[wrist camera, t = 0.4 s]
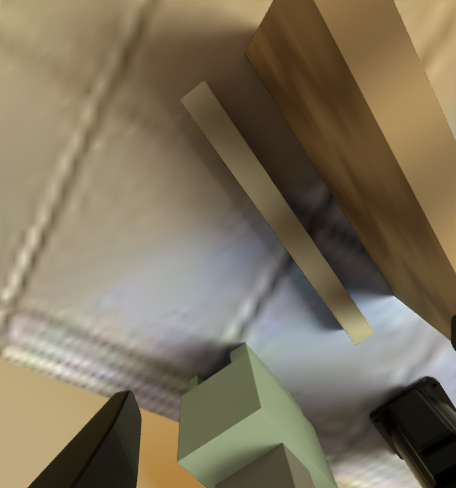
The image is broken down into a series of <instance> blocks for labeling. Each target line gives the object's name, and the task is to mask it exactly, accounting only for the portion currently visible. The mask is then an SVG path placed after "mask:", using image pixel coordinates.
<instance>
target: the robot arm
mask: <svg viewBox="0 0 456 488" xmlns="http://www.w3.org/2000/svg"><path fill="white" fill-rule="evenodd" d="M451 344H452V346H453V348H454V350H455V351H456V315H453V316H452V318H451ZM370 420H371V421H372V423H373V424H374V425H375V427H376V428H377V429H378V431H379V432H380V433H381V434H382V436H383V437H384V438H385V440H386V441H387V442H388V444H389V445H390V446H391V447H392V449H393V450H394V451H395V453H396V454H397V455H398V456H399V458H400V459H402V460H405V462H406V464H407V465H408V467H409V468H410V470H411V471H412V473H413V474H414V476H415V477H416V479H417V481H418V482H419V484H420V485H421V487H422V488H456V408H455V407H454V405H453V404H452V402H451V400H450V399H449V397H448V396H447V394H446V393H445V391H444V389H443V388H442V386H441V385H440V383H439V382H438V381H437V380H436V379H435V378H433V377H432V378H429V379H427V380H425V381H424V382H422V383H420V384H419V385H417V386H415V387H414V388H412V389H411V390H409V391H407V392H406V393H404V394H402V395H401V396H399V397H398V398H396V399H394V400H393V401H391V402H389V403H388V404H386V405H384V406H383V407H381V408H380V409H378V410H376V411H375V412H373V413H372V414H371V415H370ZM140 436H141V413H140V410H139V407H138V405H137V402H136V399H135V397H134V394H133V392H132V391H131V390H125V391H120V392H117V393H115V394H114V395H113V396H112V397H111V398H110V399H109V400H108V402H107V403H106V404H105V405H104V406H103V407H102V408H101V409H100V410H99V411H98V412H97V413H96V414H95V415H94V417H93V418H92V419H91V420H90V421H89V422H88V423H87V424H86V425H85V426H84V428H82V429H81V431H80V432H79V433H78V434H77V435H76V436H75V437H74V438H73V439H72V440H71V441H70V442H69V443H68V445H67V446H66V447H65V448H64V449H63V450H62V451H61V452H60V453H59V454H58V455H57V457H56V458H55V459H54V460H53V461H52V462H51V463H50V464H49V465H48V466H47V467H46V468H45V469H44V470H43V471H42V473H41V474H40V475H39V476H38V477H37V478H36V479H35V480H34V481H33V482H32V483H31V484H30V486H29V487H28V488H136V485H137V476H138V463H139V448H140Z"/></svg>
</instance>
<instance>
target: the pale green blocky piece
mask: <svg viewBox="0 0 456 488" xmlns="http://www.w3.org/2000/svg"><path fill="white" fill-rule="evenodd" d="M230 358H231V364H229V365H228V366H226V367H225V368H223V369H222V370H220V371H219V372H217V373H216V374H214V375H213V376H211V377H210V378H208V379H207V380H205V381H203V380H202V379H201V378H200V377H199V376H198V375H197V376H195V377H194V378H192V379H191V380H189V392H188V393H186V394H185V395H183V396H182V397H181V407H180V422H179V439H178V454H177V463H178V464H180V465H181V466H182V467H183V468H184V469H185V470H187V471H188V472H189V473H190V474H191V475H192V476H193V477H195V478H196V479H197V480H198V481H199V482H200V483H202V484H203V485H204V486H205V487H206V488H338V487H337V484H336V482H335V479H334V477H333V475H332V472H331V470H330V467H329V465H328V462H327V460H326V457H325V455H324V452H323V450H322V447H321V445H320V442H319V440H318V437H317V435H316V432H315V430H314V427H313V425H312V424H311V423H310V422H309V421H308V420H307V419H306V417H305V416H304V415H303V412H302V409H301V407H300V405H299V404H298V402H297V401H296V400H295V399H294V398H293V397H292V395H291V394H290V393H289V392H288V391H287V390H286V389H285V387H284V386H283V385H282V384H281V383H280V382H279V380H278V379H277V378H276V377H275V376H274V375H273V374H272V372H271V371H270V370H269V369H268V368H267V367H266V366H265V364H264V363H263V362H262V361H261V360H260V359H259V357H258V356H257V355H256V354H255V353H254V352H253V351H252V349H251V348H250V347H249V346H248V345H247V344H246V342H245V343H244V344H242V345H241V346H239V347H238V348H236V349H235V350H233V351H232V352H230Z"/></svg>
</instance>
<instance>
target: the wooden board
mask: <svg viewBox="0 0 456 488" xmlns="http://www.w3.org/2000/svg"><path fill="white" fill-rule="evenodd" d="M245 54H246V56H247V57H248V59H249V60H250V62H251V64H252V65H253V67H254V69H255V70H256V72H257V73H258V75H259V77H260V78H261V80H262V82H263V83H264V85H265V86H266V88H267V90H268V91H269V93H270V95H271V96H272V98H273V99H274V101H275V103H276V104H277V106H278V108H279V109H280V111H281V112H282V114H283V116H284V117H285V119H286V121H287V122H288V124H289V125H290V127H291V129H292V130H293V132H294V134H295V135H296V137H297V138H298V140H299V142H300V143H301V145H302V146H303V148H304V150H305V151H306V153H307V155H308V156H309V158H310V159H311V161H312V163H313V164H314V166H315V168H316V169H317V171H318V172H319V174H320V176H321V177H322V179H323V181H324V182H325V184H326V185H327V187H328V189H329V190H330V192H331V194H332V195H333V197H334V198H335V200H336V202H337V203H338V205H339V207H340V208H341V210H342V211H343V213H344V215H345V216H346V218H347V220H348V221H349V223H350V224H351V226H352V228H353V229H354V231H355V232H356V234H357V236H358V237H359V239H360V241H361V242H362V244H363V245H364V247H365V249H366V250H367V252H368V254H369V255H370V257H371V258H372V260H373V262H374V263H375V265H376V267H377V268H378V270H379V271H380V273H381V275H382V276H383V278H384V280H385V281H386V283H387V284H388V286H389V288H390V289H391V291H392V293H393V294H394V296H395V297H396V298H398V299H399V300H400V301H401V302H403V303H404V304H405V305H406V306H408V307H409V308H410V309H411V310H413V311H414V312H415V313H416V314H418V315H419V316H420V317H421V318H423V319H424V320H425V321H426V322H428V323H429V324H430V325H431V326H433V327H434V328H435V329H437V330H438V331H439V332H440V333H442V334H443V335H444V336H445V337H447V338H448V339H449V340H450V341H451V318H452V316H453V315H456V140H455V138H454V136H453V134H452V131H451V129H450V127H449V125H448V122H447V120H446V118H445V116H444V113H443V111H442V109H441V107H440V104H439V102H438V100H437V98H436V95H435V93H434V91H433V89H432V86H431V84H430V82H429V80H428V77H427V75H426V73H425V71H424V68H423V66H422V64H421V62H420V59H419V57H418V55H417V53H416V50H415V48H414V46H413V44H412V41H411V39H410V37H409V34H408V32H407V30H406V28H405V25H404V23H403V21H402V19H401V16H400V14H399V12H398V10H397V7H396V5H395V3H394V1H393V0H273V2H272V4H271V6H270V7H269V9H268V11H267V13H266V15H265V17H264V18H263V20H262V22H261V24H260V26H259V28H258V29H257V31H256V33H255V35H254V37H253V39H252V40H251V42H250V44H249V46H248V48H247V50H246V51H245ZM180 100H181V102H182V104H183V106H184V107H185V108H186V110H187V111H188V113H189V114H190V115H191V117H192V118H193V120H194V121H195V122H196V124H197V125H198V127H199V128H200V129H201V131H202V132H203V134H204V135H205V136H206V138H207V139H208V141H209V142H210V143H211V145H212V146H213V147H214V149H215V150H216V152H217V153H218V154H219V156H220V157H221V159H222V160H223V161H224V163H225V164H226V166H227V167H228V168H229V170H230V171H231V173H232V174H233V175H234V177H235V178H236V180H237V181H238V182H239V184H240V185H241V187H242V188H243V189H244V191H245V192H246V194H247V195H248V196H249V198H250V199H251V201H252V202H253V203H254V205H255V206H256V208H257V209H258V210H259V212H260V213H261V215H262V216H263V217H264V219H265V220H266V222H267V223H268V224H269V226H270V227H271V229H272V230H273V231H274V233H275V234H276V236H277V237H278V238H279V240H280V241H281V242H282V244H283V245H284V247H285V248H286V249H287V251H288V252H289V254H290V255H291V256H292V258H293V259H294V261H295V262H296V263H297V265H298V266H299V268H300V269H301V270H302V272H303V273H304V275H305V276H306V277H307V279H308V280H309V282H310V283H311V284H312V286H313V287H314V289H315V290H316V291H317V293H318V294H319V296H320V297H321V298H322V300H323V301H324V303H325V304H326V305H327V307H328V308H329V310H330V311H331V312H332V314H333V315H334V317H335V318H336V319H337V321H338V322H339V324H340V325H341V326H342V328H343V329H344V330H345V332H346V333H347V334H348V336H349V337H350V338H351V340H352V341H353V342H354V343H355V345H357V344H359V343H360V342H362V341H363V340H365V339H366V338H368V337H370V336H371V335H373V334H374V333H375V332H374V331H373V329H372V328H371V326H370V325H369V324H368V322H367V321H366V319H365V318H364V316H363V315H362V313H361V312H360V310H359V309H358V307H357V306H356V304H355V303H354V301H353V300H352V298H351V297H350V295H349V294H348V292H347V291H346V290H345V288H344V287H343V285H342V284H341V282H340V281H339V279H338V278H337V276H336V275H335V273H334V272H333V270H332V269H331V267H330V266H329V264H328V263H327V261H326V260H325V258H324V257H323V255H322V254H321V253H320V251H319V250H318V248H317V247H316V245H315V244H314V242H313V241H312V239H311V238H310V236H309V235H308V233H307V232H306V230H305V229H304V227H303V226H302V224H301V223H300V221H299V220H298V218H297V217H296V216H295V214H294V213H293V211H292V210H291V208H290V207H289V205H288V204H287V202H286V201H285V199H284V198H283V196H282V195H281V193H280V192H279V190H278V189H277V187H276V186H275V184H274V183H273V181H272V180H271V179H270V177H269V176H268V174H267V173H266V171H265V170H264V168H263V167H262V165H261V164H260V162H259V161H258V159H257V158H256V156H255V155H254V153H253V152H252V150H251V149H250V147H249V146H248V144H247V143H246V142H245V140H244V139H243V137H242V136H241V134H240V133H239V131H238V130H237V128H236V127H235V125H234V124H233V122H232V121H231V119H230V118H229V116H228V115H227V113H226V112H225V110H224V109H223V108H222V106H221V105H220V103H219V102H218V100H217V99H216V97H215V96H214V94H213V93H212V91H211V90H210V88H209V87H208V85H207V84H206V82H205V81H202V82H201V83H200V84H199V85H197V86H196V87H195V88H194V89H193V90H191V91H190V92H189V93H188V94H186V95H185V96H184V97H183V98H181V99H180Z"/></svg>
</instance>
